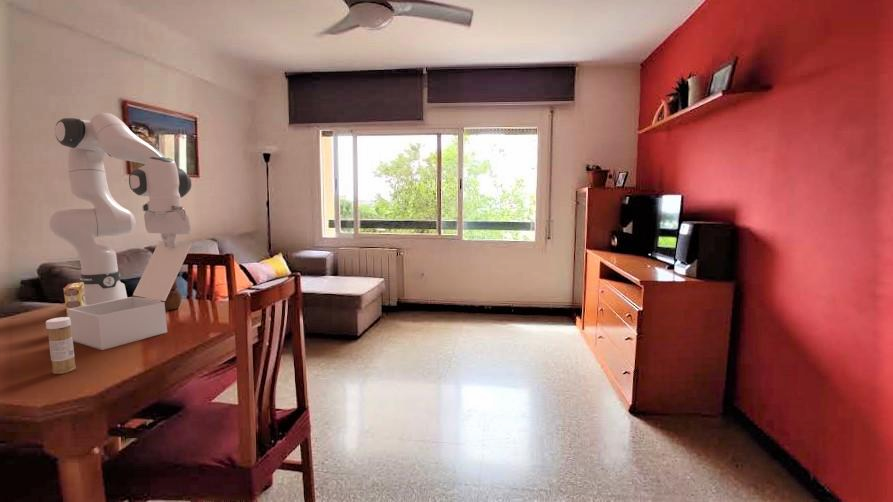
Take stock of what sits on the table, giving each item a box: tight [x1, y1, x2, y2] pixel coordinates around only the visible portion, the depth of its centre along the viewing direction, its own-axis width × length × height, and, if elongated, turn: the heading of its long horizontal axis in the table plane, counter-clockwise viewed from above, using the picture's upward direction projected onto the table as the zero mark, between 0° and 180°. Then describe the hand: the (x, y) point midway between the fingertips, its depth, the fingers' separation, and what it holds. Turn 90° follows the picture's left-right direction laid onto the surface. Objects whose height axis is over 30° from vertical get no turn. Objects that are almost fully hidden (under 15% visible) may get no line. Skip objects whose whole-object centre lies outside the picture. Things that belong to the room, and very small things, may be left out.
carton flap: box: [132, 240, 193, 301], centre depth 146 cm, size 18×20×1 cm
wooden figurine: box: [160, 280, 182, 311], centre depth 168 cm, size 7×6×15 cm
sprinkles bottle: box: [45, 316, 77, 375], centre depth 108 cm, size 5×5×14 cm
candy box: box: [62, 282, 86, 317], centre depth 141 cm, size 9×4×15 cm, turn 33°
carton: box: [68, 296, 168, 351], centre depth 135 cm, size 18×18×10 cm
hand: (169, 247), depth 147 cm, fingers closed, pressing on carton flap
